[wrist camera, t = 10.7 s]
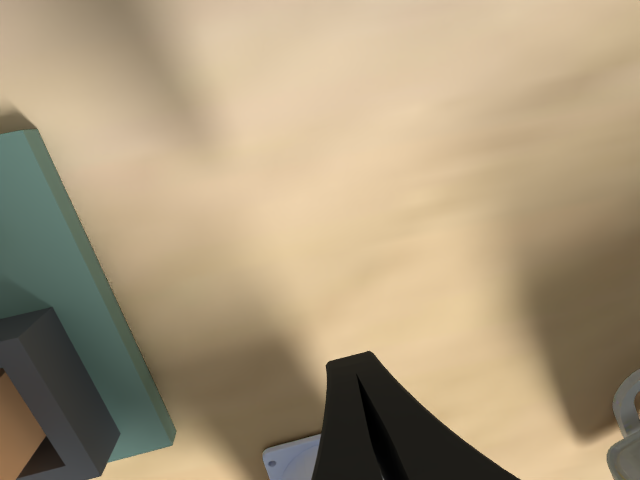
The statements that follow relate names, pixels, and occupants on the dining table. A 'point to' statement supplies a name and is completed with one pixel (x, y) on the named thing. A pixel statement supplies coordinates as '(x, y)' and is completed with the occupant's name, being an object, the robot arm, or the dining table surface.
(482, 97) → the dining table surface
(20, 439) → the plug
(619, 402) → the network device
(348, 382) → the robot arm
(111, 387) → the header board
